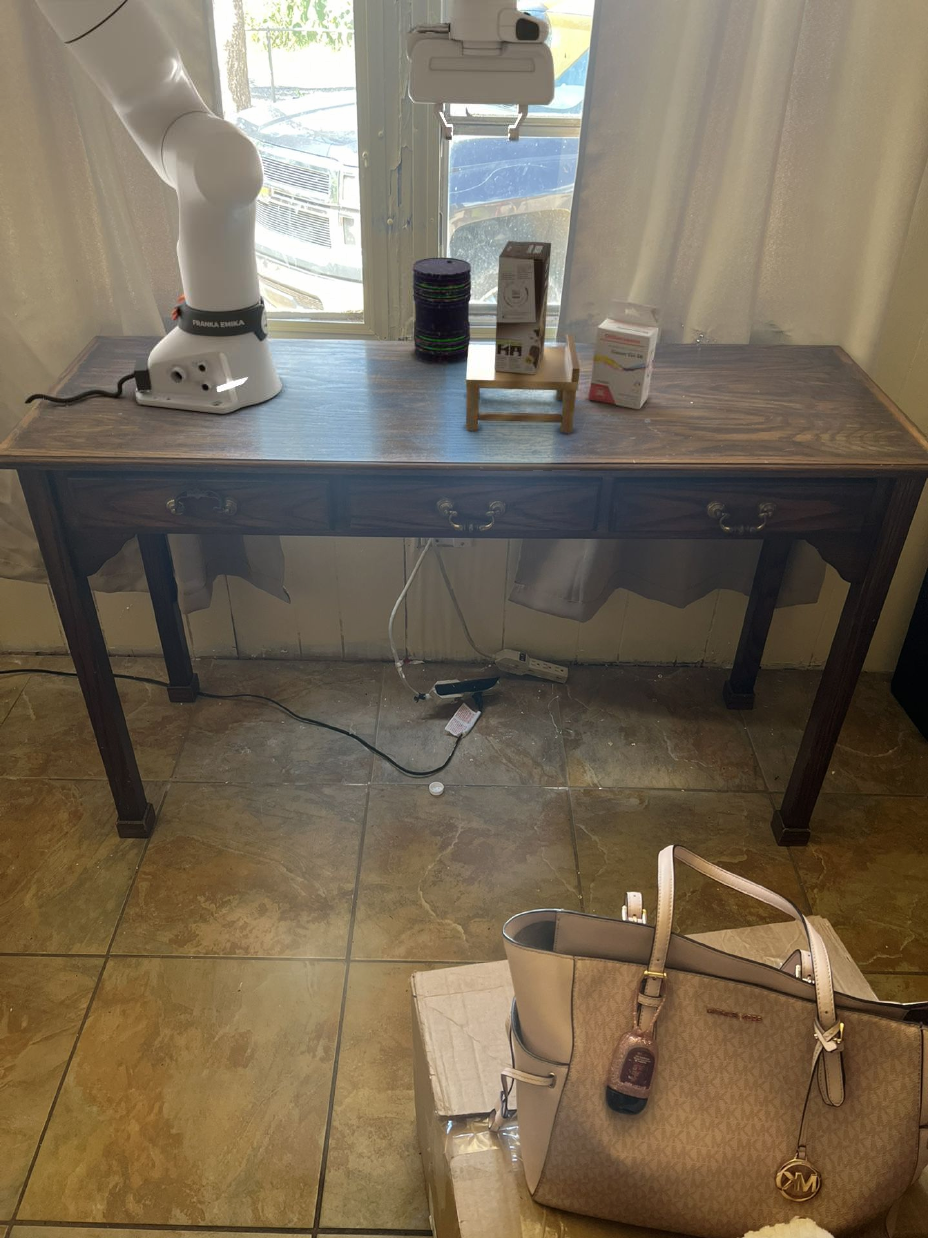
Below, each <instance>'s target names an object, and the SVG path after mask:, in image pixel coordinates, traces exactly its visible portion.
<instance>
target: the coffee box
mask: <svg viewBox="0 0 928 1238" xmlns="http://www.w3.org/2000/svg"><path fill="white" fill-rule="evenodd" d="M551 250H552V243H551V242H545V241H544V242H543V241H515V240H508V241H507V243H506V244H505V246H504V247H503V249H502V251H501V253H500V254H499V256H498V273H497V294H496V295H497V297H496V299H497V300H496V320H495V322H496V323H495V324H496V325H495V344H494V345H495V367H494V370H495V371H501V372H512V373H521V374H530V375H535V374H536V372H537V370H538V367H539V364H540V362H541V359H542V356H543V353H544V346H545V342H546V329H547V328H546V327H547V311H548V295H549V294H548V293H549V281H550V266H551V265H550V264H551V253H552V251H551Z"/></svg>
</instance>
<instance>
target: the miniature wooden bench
mask: <svg viewBox="0 0 928 1238" xmlns="http://www.w3.org/2000/svg"><path fill="white" fill-rule="evenodd" d="M495 345H496V344H469V346H468V358H467V359H466V374H465V375H466V376H465V388H466V403H465V404H466V408H465V410H466V411H465V412H466V413H465V420H466V421H465V429H466V430H467V431H469V432H476V431H478V430H479V422H510V423H511V422H514V423H518V422H519V423H549V424H550V423H555V424H556V423H557V424H559V423H560V427H559V428H560V429H559V430H560V433H562V434H571V433H573V428H574V417H575V409H576V399H577V391H579V382H580V381H579V380H580V370H581V368H580V364H579V363H580V362H579V358H578V354H577V347H576V343H575V338H574V334H573V333H566V336H565V346H551V345H550V346H549V345H548V346H546V345H544V353H543V356H542V359H541V362H540V364H539V367H538V370H537V372H536V374H535V375H530V374H521V373H512V372H501V371H495V370H494V367H495ZM481 389H490V390H491V389H492V390H493V389H495V390H532V391H556V392H555V399H556V400H558V401H562V406H561V413H537V412H536V413H534V412H504V411H503V412H499V411H497V412H495V411H480V410H479V409H480V407H479V405H480V395H481V394H480V392H481V391H480V390H481Z"/></svg>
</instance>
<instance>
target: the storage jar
mask: <svg viewBox="0 0 928 1238" xmlns="http://www.w3.org/2000/svg"><path fill="white" fill-rule="evenodd" d="M412 272H413V273H412V290H413V291H412V292H413V293H412V297H413V301H414V322H413V341H414V343H413V345H414V356H415V358H416V359H418V360H420V361H421V362H425V363H429V364H435V365H436V364H437V365H450V364H451V365H452V364H457V363H461V362H462V361H465V360H467V359H468V346H469V345H470V342H471V322H470V320H469V319H470V318H469V315H470V301H471V297H472V294H471V290H472V275H471V272H472V265H471V263H469V262H468V261H467V260H464V259H459V258H455V257H442V256H441V257H428V258H423V259H419V260H417V261H415V262H413V264H412Z"/></svg>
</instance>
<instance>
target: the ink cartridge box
mask: <svg viewBox="0 0 928 1238" xmlns="http://www.w3.org/2000/svg"><path fill="white" fill-rule="evenodd" d="M607 306H608V307H607V317H606V318H605V319H604V321H602V322H601V323H600V324H599V325H598V326H597V328H596V337H595V343H594V350H593V359H592V369H591V377H590V385H589V394H588V399H589V400H591V401H596V402H601V403H606V404H611V405H615V406H620V407H624V408H629V409H635V410H640V409H641V408H642V407H643V405H644V404H645V402H646V400H647V399H648V397H649V393H650V392H649V391H650V383H651V379H652V373H653V372H652V371H653V366H654V359H655V352H656V347H657V341H658V340H657V339H658V334H659V326H658V325H659V320H660V319H659V318H660V311H661V309H660V307H659V306H657V305H656V306H654V305H649V304H644V303H637V302H632V301H625V300H618V299H615V298H614V299H613V298H611V299H609V301H608V305H607ZM626 310H629V311H631V310H635V311H636V312H640V313H641V315H639V314H634V313H628V312H626Z"/></svg>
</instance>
